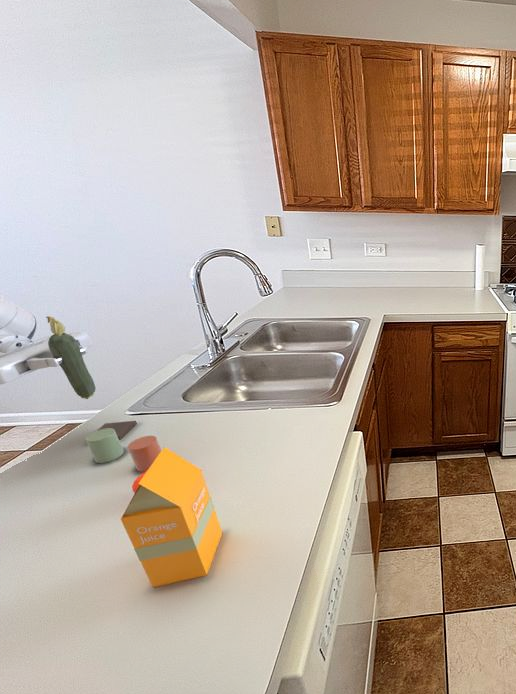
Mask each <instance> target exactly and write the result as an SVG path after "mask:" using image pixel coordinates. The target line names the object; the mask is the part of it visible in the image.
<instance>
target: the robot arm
mask: <svg viewBox="0 0 516 694" xmlns="http://www.w3.org/2000/svg"><path fill="white" fill-rule="evenodd" d="M36 330H37V319H36V317H35V316H34V315H33V314H31V313H30V312H29V311H27V310H26V309H23V308H22V306H19V305H18V304H17V303H16V304H15V303H14V302H13V301H11V300H10V299H8V298H6V296H5V297H4V296H3V295H2V294H0V385H4V384H7V383H10V382H12V381H14V380H17V379H19V378H21V377H23V376H26V375H29V374H31V373H33V372H35V371H38V370H41V369H46V368H57V367H59V366H60V365H61V364H63V363H64V362H63V361H62V358H61V357H58V356H57V357H56V356H53V355H52V353H51V351H50V349H49V345H48V341H49V338H50V337H51V336H52V335H54V333H52V334H50V335H47V336H45V337H42V338H38V339H36V340H32V339H33V337H34V335H35V333H36ZM65 333H66V334H69V335H71V336H73V337H74V338H75V340H76V341H77V343H78V345H79V348H80V351H81V354H82V356H84V355H87V354H88V353H89V351H88V348H89V349H90V348H91V347H92V346H93V342H92V340H91V337H90V335H89V334H88V332H86V331H73V332H65Z"/></svg>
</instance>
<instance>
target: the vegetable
mask: <svg viewBox="0 0 516 694" xmlns="http://www.w3.org/2000/svg"><path fill="white" fill-rule="evenodd" d="M45 319H47V324H49V326H50V331H51V333H52V334H51V335H52V336H51V337H50V338H49V341H48V345H49V349H50V351H51V353H52V355H53V356H56V357H57V356H58V357H61V358H62V361H63V362H64V363H63V364H61V365H59V366H60V368H61V369H62V371H63V372H64V375H65V377H66V378H67V380H68V383H69V384H70V386H71V387H72V389H73V390H74V392H75V393H76V395H77V396H78V397H80V398H81V399H85V400H89V399H90V398H92V397H93V396H94V394H95V392H96V385H95V382H94V379H93V377H92V375H91V373H90V372H89V370H88V368H87V365H86V363H85V361H84V357H83V355H82V354H81V351H80V348H79V345H78V343H77V341H76V340H75V338H74V337H73V336H71V335H69V334H66V333H67V332H65V331H66V326H65V325H64V324H63V323H62V322H61V321H59V320H57V319H56V318H55V317H53V316H49V315H47V316H46V317H45ZM53 334H54V335H53Z"/></svg>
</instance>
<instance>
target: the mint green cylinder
mask: <svg viewBox="0 0 516 694" xmlns="http://www.w3.org/2000/svg"><path fill="white" fill-rule="evenodd" d="M97 430H98V429H97ZM97 430H96V431H93V432H91V433H89V434H88V435H87V436H86V437H85V442H86V445H87V447H88V449H89V451H90V453H91V455H92V457H93V459H94V462H95V463H97V464H104V463H109V462H113V461H114V460H116V459H119V458H120V457H121V456H122V455H123V454H124V453H125V450H124V448H123V446H122V444H121V441H120V440H119V439H118V436H117V434H116V432H115V430H114V429H113V428H106V429H101V430H98V431H97Z"/></svg>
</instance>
